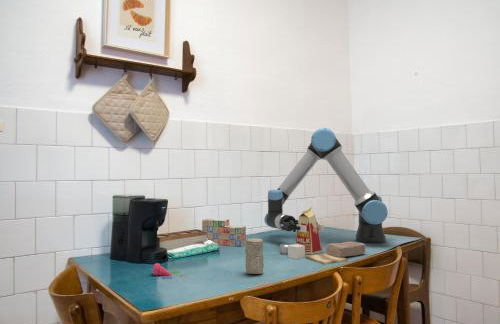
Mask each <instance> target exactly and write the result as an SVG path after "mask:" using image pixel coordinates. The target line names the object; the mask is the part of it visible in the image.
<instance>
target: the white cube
mask: <svg viewBox="0 0 500 324" xmlns="http://www.w3.org/2000/svg"><path fill="white" fill-rule="evenodd" d="M305 256H306V254H305V246H303V245H298V244H296V243H295V244H291V245H288V255H287V258H289V259H292V260H301V259H306V258H305Z"/></svg>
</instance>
